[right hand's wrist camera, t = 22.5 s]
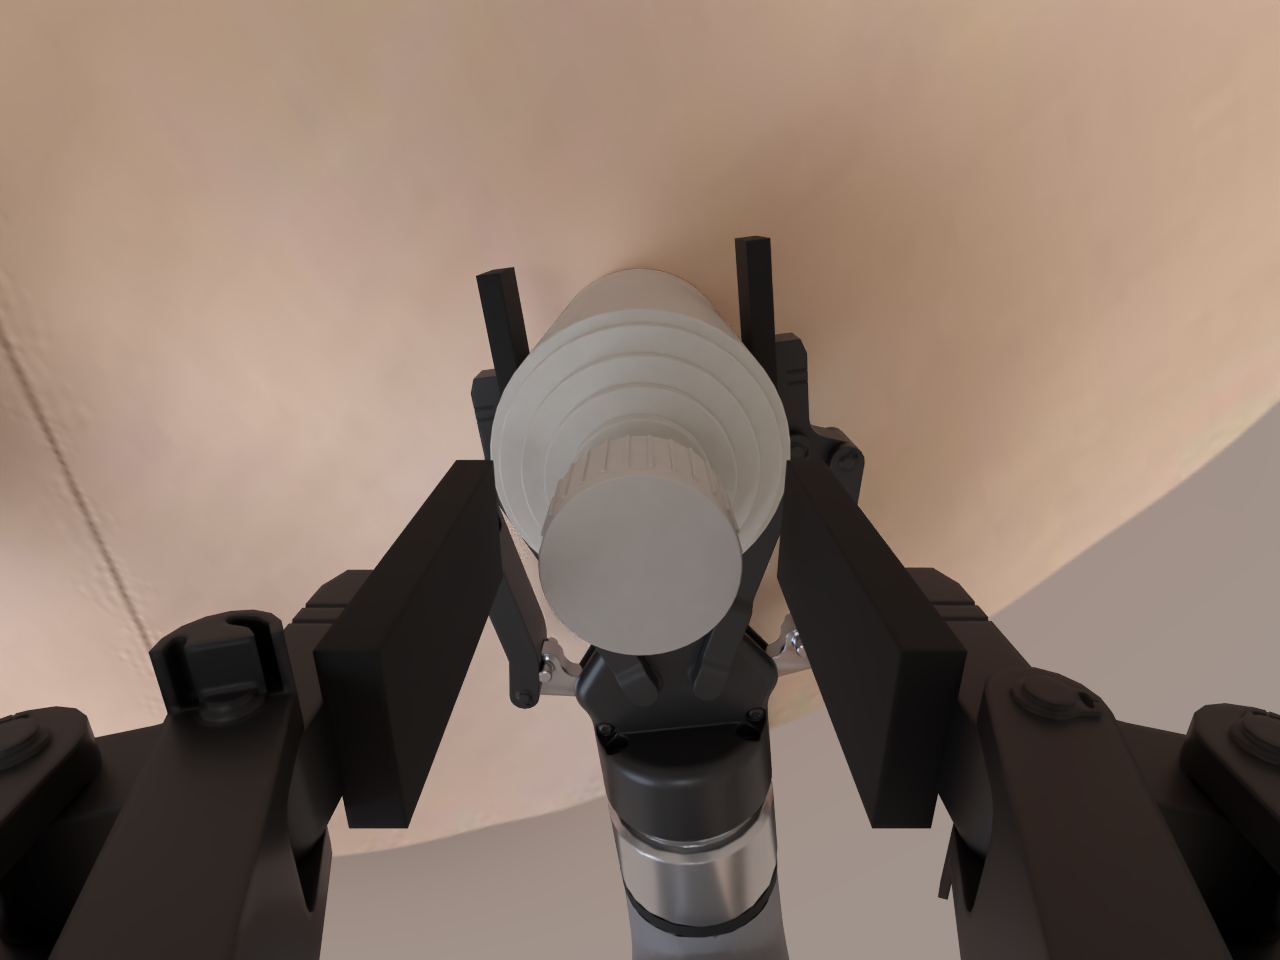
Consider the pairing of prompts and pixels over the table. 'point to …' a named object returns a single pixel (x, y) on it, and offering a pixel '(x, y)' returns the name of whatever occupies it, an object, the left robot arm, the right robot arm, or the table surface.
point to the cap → (640, 547)
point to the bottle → (640, 398)
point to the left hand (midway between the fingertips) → (622, 255)
